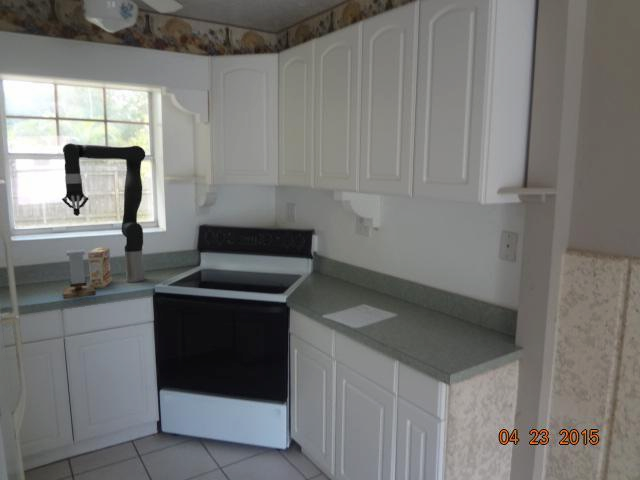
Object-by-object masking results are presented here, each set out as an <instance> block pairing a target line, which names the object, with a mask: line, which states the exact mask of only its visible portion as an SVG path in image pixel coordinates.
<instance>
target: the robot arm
mask: <svg viewBox="0 0 640 480" xmlns="http://www.w3.org/2000/svg"><path fill="white" fill-rule="evenodd" d="M145 151H146V150H144V148H143V147H141V146H139V145H132V146H109V145H108V146H107V145H98V144H97V145H95V144H78V143H77V144H75V143H70V142H68V143H66V144H65V145H64V146H63V147H62V152H63V158H64V173H65V177H64V179H65V180H64V181H65V190H66V194H65V196H64V197H63V198H62V199H61V201H62V202H64V204H66V206H67V207H68V208H70V209H73V215H75V217H76V216H77V217H79V215H81V212H80V209H81V208H83V207H84V206H85V204H86V203H87V202H88V201H89V197H87V196H86V195H85V193H84V191H83V190H84V188H83V180H82V174H81V166H80V158H84V159H85V158H86V159H93V160H94V159H97V160H109V159H111V160H112V159H114V160H125V165H126V170H125V171H126V172H125V179H124V190H123V191H124V192H123V217H122V223H121V233H122V236H124V237H125V238H126V244H125V245H124V258H125V259H124V260H125V262H124V263H125V274H126V277H125V278H126V282H130V283H137V282H141V281H142V282H143V281H145V275H146V274H145V264H144V258H143V245H144V232H143V230H144V229H143V227H142V225H141V224H140V223H138V222H137V221H138V211H139V209H140V205H141V203H142V198H143V182H142V176H141V169H142V162H143V161H144V160H145V158H146V152H145ZM68 200H69V201H70V202H71V203H70V202H68ZM81 201H82V202H81ZM80 202H81V204H80Z"/></svg>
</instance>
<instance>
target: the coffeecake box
mask: <svg viewBox="0 0 640 480" xmlns="http://www.w3.org/2000/svg"><path fill="white" fill-rule="evenodd" d="M110 250H111V249H110V247H109V246H108V247H106V246H105V247H96V248H94V249H92V250H90V251H88V252H87V255H88V265H89V266H88V268H89V269H88V270H89V279H90V281H89V285H93V286H94V289H101V288H103V289H104V288H105V287H106V286H107V285H109V284H110V283H111V282H113V279H112V267H111V255H110V254H111V253H110Z"/></svg>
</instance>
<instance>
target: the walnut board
mask: <svg viewBox="0 0 640 480" xmlns="http://www.w3.org/2000/svg"><path fill="white" fill-rule="evenodd" d="M95 295H96V291H95V288H94V286H93V285H91V284H89V285H87V286H82V290H75V287H70V286H69V287H63V288H62V297H63V299H73V298H80V297H81V298H82V297H89V296H95Z"/></svg>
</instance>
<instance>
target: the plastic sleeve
mask: <svg viewBox="0 0 640 480" xmlns="http://www.w3.org/2000/svg"><path fill="white" fill-rule="evenodd" d="M65 251H66V257H68V258H69V270H70V281H71V283H72V284H77V283H85V280H86V279H85V268H84V265H85V264H84V256H85V255H86V251H85V249H84V248H83V249H81V248H80V249H70V250H69V249H68V250H65Z"/></svg>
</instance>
